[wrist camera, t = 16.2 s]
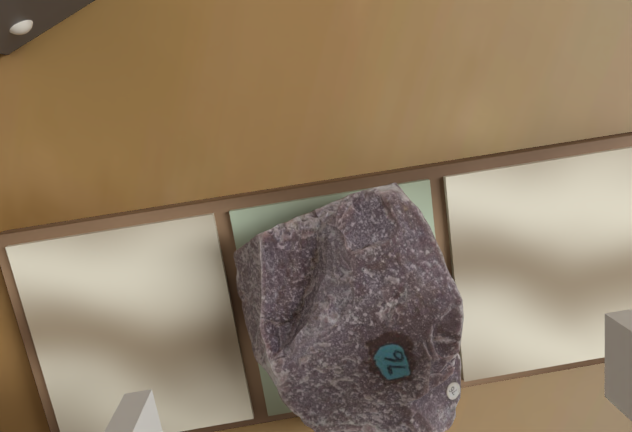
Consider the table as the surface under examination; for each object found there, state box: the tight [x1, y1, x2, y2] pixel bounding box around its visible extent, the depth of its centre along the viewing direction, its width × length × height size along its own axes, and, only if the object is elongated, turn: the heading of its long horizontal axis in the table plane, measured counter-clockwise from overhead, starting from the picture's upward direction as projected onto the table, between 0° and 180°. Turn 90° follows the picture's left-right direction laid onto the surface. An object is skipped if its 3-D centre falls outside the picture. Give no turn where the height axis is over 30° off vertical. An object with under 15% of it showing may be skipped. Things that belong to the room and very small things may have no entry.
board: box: [0, 132, 632, 432], centre depth 23 cm, size 11×29×1 cm, turn 98°
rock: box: [234, 183, 464, 432], centre depth 20 cm, size 8×11×5 cm
